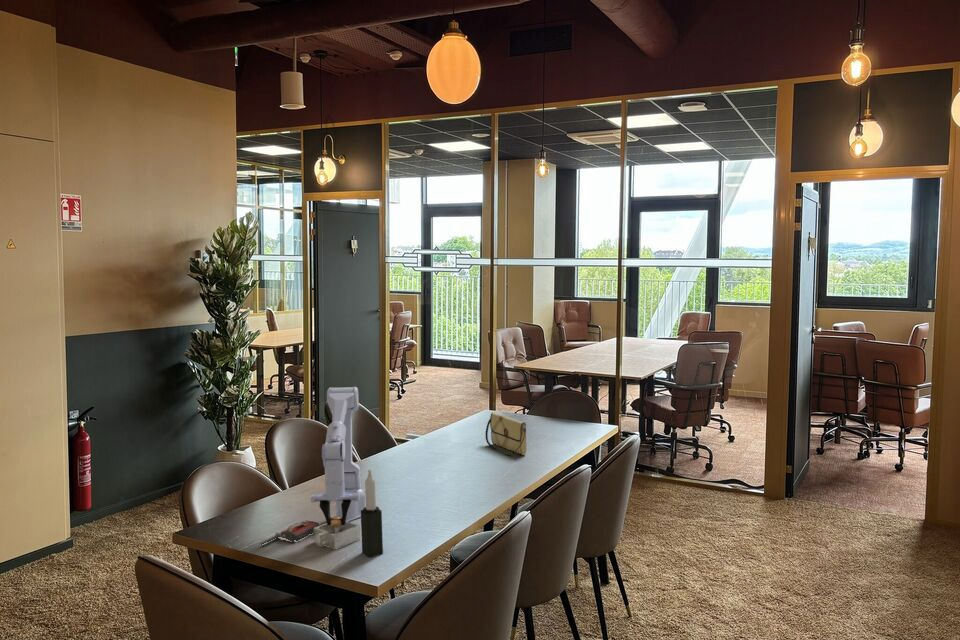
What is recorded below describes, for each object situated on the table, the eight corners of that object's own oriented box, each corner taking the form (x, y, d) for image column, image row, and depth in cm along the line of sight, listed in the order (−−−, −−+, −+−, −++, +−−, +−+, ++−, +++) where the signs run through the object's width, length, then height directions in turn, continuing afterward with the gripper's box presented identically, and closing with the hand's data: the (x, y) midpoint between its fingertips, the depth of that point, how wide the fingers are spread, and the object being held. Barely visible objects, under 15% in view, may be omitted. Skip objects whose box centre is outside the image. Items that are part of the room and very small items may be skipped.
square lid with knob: (338, 533, 232) (337, 512, 232) (355, 538, 228) (354, 517, 227) (318, 540, 226) (318, 519, 226) (335, 546, 222) (334, 524, 221)
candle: (368, 557, 213) (365, 473, 211) (360, 552, 217) (357, 469, 216) (384, 553, 216) (381, 469, 214) (376, 548, 220) (373, 466, 219)
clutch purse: (481, 445, 343) (481, 413, 342) (494, 443, 346) (494, 411, 345) (516, 459, 317) (515, 424, 316) (529, 456, 321) (529, 422, 319)
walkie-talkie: (301, 527, 241) (257, 548, 223) (300, 513, 241) (257, 534, 223) (322, 530, 237) (280, 553, 219) (322, 517, 237) (279, 538, 219)
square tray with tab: (339, 532, 234) (338, 518, 234) (360, 539, 228) (359, 525, 227) (308, 544, 225) (307, 529, 224) (329, 551, 218) (329, 537, 218)
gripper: (308, 485, 221) (310, 529, 222) (356, 483, 222) (358, 527, 223) (312, 478, 228) (314, 521, 229) (359, 477, 229) (361, 519, 230)
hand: (336, 524), depth 227 cm, fingers closed on square lid with knob, 4 cm apart
